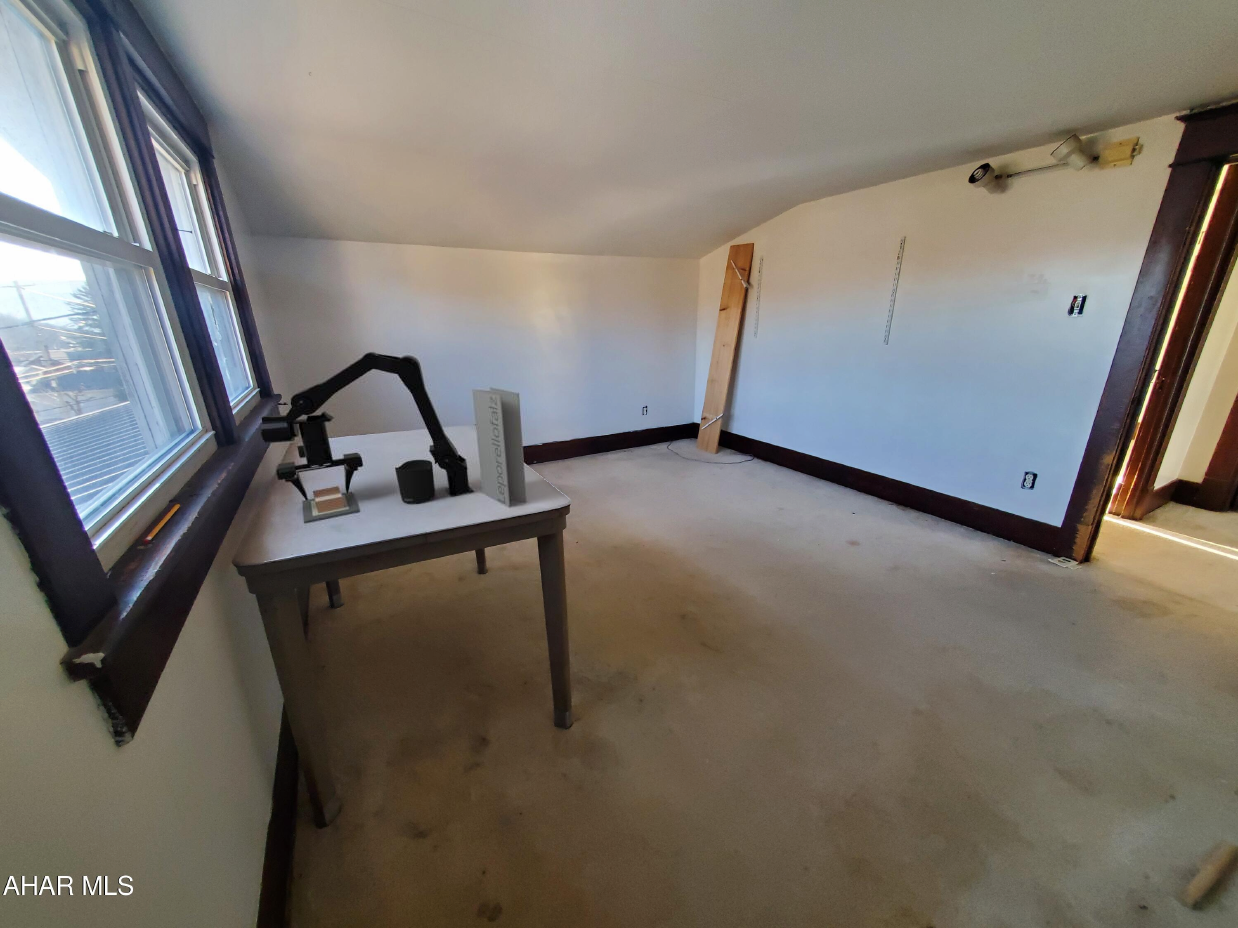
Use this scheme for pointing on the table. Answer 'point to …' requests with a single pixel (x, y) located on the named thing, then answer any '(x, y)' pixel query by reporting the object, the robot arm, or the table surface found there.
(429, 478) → the pen holder
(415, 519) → the table surface
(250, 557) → the table surface
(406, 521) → the table surface
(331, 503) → the block
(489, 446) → the brochure
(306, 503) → the mat
